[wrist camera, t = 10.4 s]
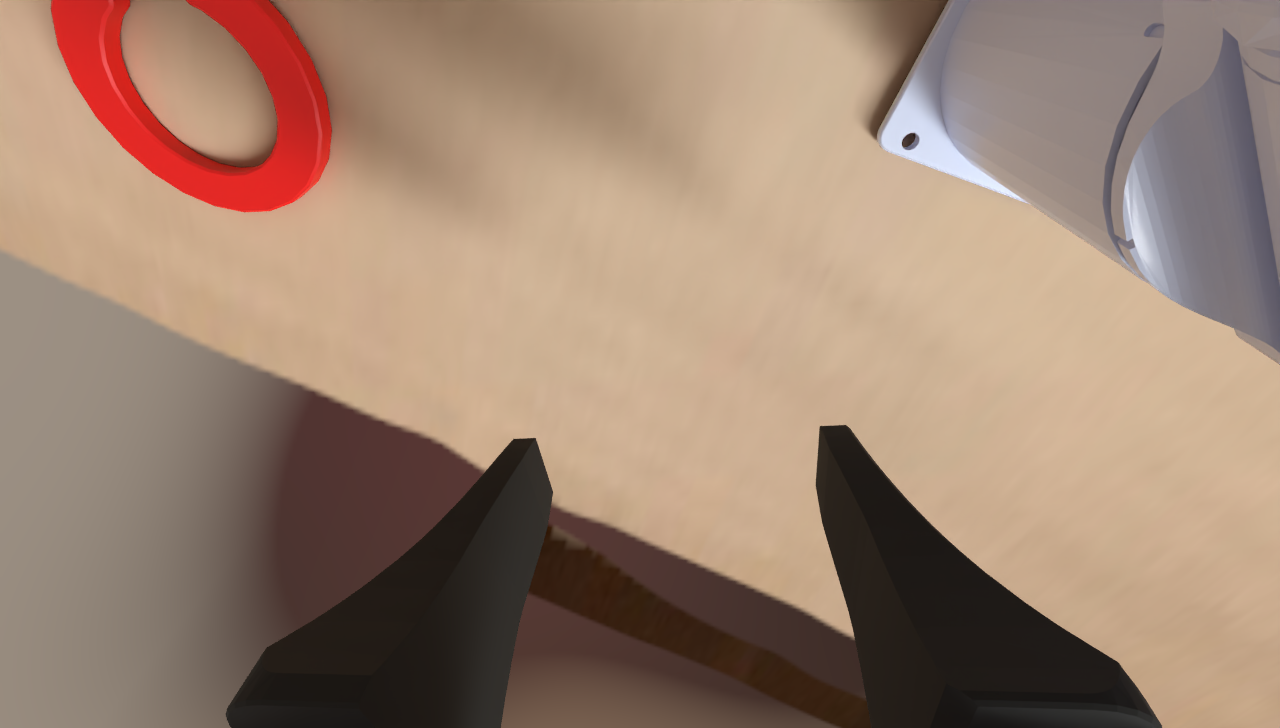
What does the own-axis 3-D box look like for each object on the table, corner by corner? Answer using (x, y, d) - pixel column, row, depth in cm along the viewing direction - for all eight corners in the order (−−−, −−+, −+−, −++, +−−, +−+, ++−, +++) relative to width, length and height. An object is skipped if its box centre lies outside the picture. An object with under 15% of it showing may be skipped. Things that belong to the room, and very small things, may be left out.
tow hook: (371, 201, 21) (262, -115, 16) (67, 441, 11) (-562, -211, 5) (173, 201, 22) (1, -100, 16) (-278, 425, 12) (-1143, -160, 6)
